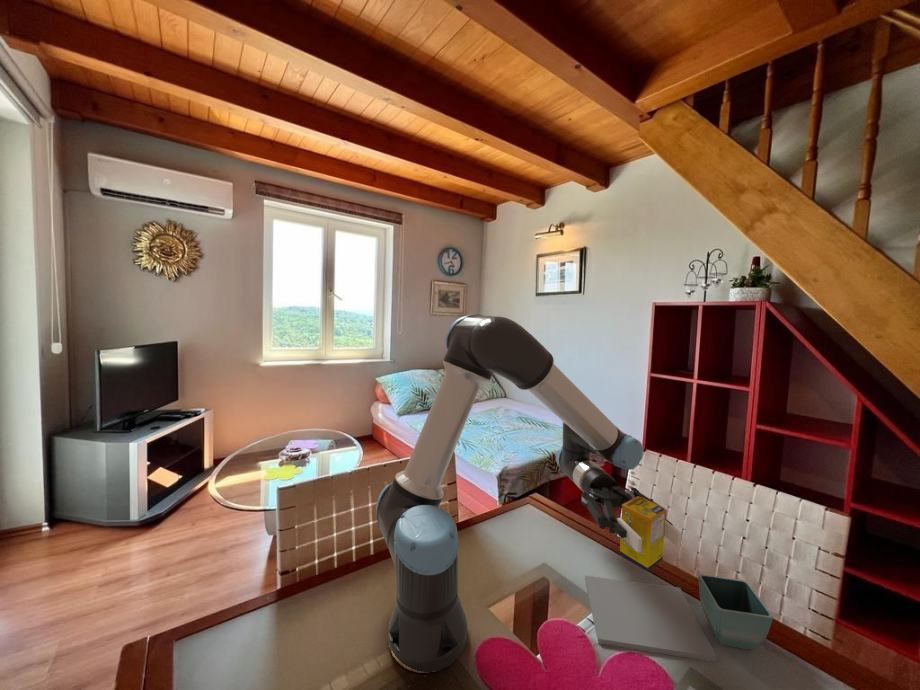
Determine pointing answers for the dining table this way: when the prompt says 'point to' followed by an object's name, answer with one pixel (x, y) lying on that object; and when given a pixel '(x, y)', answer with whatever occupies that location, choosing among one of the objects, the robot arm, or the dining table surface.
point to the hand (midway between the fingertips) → (659, 542)
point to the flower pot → (734, 611)
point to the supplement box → (644, 531)
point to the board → (646, 618)
